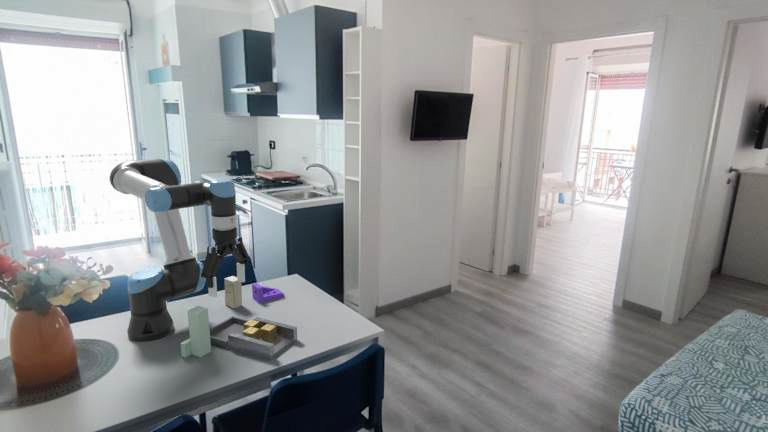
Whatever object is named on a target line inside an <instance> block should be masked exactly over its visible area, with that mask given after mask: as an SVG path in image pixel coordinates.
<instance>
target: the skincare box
mask: <svg viewBox="0 0 768 432" xmlns="http://www.w3.org/2000/svg"><path fill="white" fill-rule="evenodd" d="M223 280H224V301H225V303H224V304H225V306H227V307H229V308H231V309H237V308H239V307H242V306H243V294H242V293H243V292H242V291H243V289H242V282H240V281H237V276H235V275H231V276H227V277H224V279H223Z"/></svg>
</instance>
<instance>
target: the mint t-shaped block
mask: <svg viewBox="0 0 768 432" xmlns="http://www.w3.org/2000/svg"><path fill="white" fill-rule="evenodd" d="M209 319H210V317H209V307H205V306H201V305H197V306H194V307H193V308H191V309H188V310H187V322H188V331H189V333H188V334H189V338H187V339H186V340H184V341H182V342H180V351H181V357H183V358H187V357H189V356H191V355H192V356H196V357H199V358H203V357H204V356H205V355H208V354H209V353H210V352H212V344H211V342H210V329H211V328H210V320H209Z"/></svg>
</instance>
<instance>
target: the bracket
mask: <svg viewBox="0 0 768 432" xmlns="http://www.w3.org/2000/svg"><path fill="white" fill-rule="evenodd" d="M251 290H252V299H253V300H254V302H255V301H256V303H258V304H263V303H267V302H270V301H274V300H278V299H282V298H285V293H284V292H283V291H281V290H280V289H279V288H274V287H269V286H264V285H259V283H258V282H255V283H252V284H251Z"/></svg>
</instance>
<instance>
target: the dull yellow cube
mask: <svg viewBox="0 0 768 432" xmlns="http://www.w3.org/2000/svg"><path fill="white" fill-rule="evenodd" d="M249 327H254V328H258V329H260V322H259V321H255V320H254V319H250V320H249V321H248V322H246V323H245V324H244V330H246V329H247V328H249Z"/></svg>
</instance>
